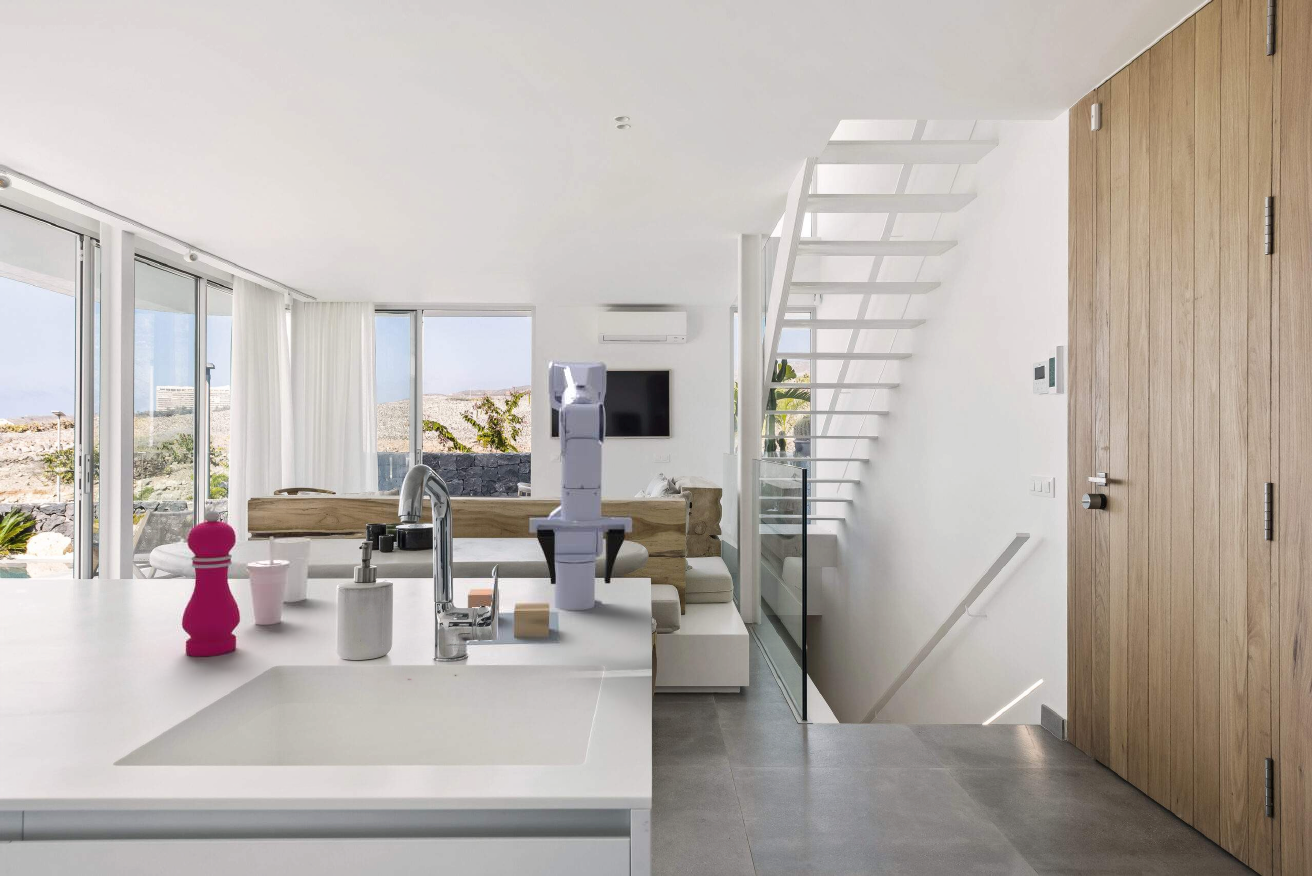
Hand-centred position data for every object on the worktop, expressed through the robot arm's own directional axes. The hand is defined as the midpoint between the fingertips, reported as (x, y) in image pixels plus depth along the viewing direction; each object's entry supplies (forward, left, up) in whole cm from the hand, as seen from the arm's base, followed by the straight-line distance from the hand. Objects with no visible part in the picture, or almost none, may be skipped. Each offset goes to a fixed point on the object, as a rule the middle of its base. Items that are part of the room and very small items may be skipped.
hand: (580, 582), depth 115 cm
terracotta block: (-18, -15, -9) cm, 25 cm away
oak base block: (-9, -7, -9) cm, 15 cm away
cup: (-41, -52, -10) cm, 67 cm away
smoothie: (-23, -50, -10) cm, 56 cm away
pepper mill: (-6, -52, -10) cm, 53 cm away
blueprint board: (-13, -11, -10) cm, 20 cm away
